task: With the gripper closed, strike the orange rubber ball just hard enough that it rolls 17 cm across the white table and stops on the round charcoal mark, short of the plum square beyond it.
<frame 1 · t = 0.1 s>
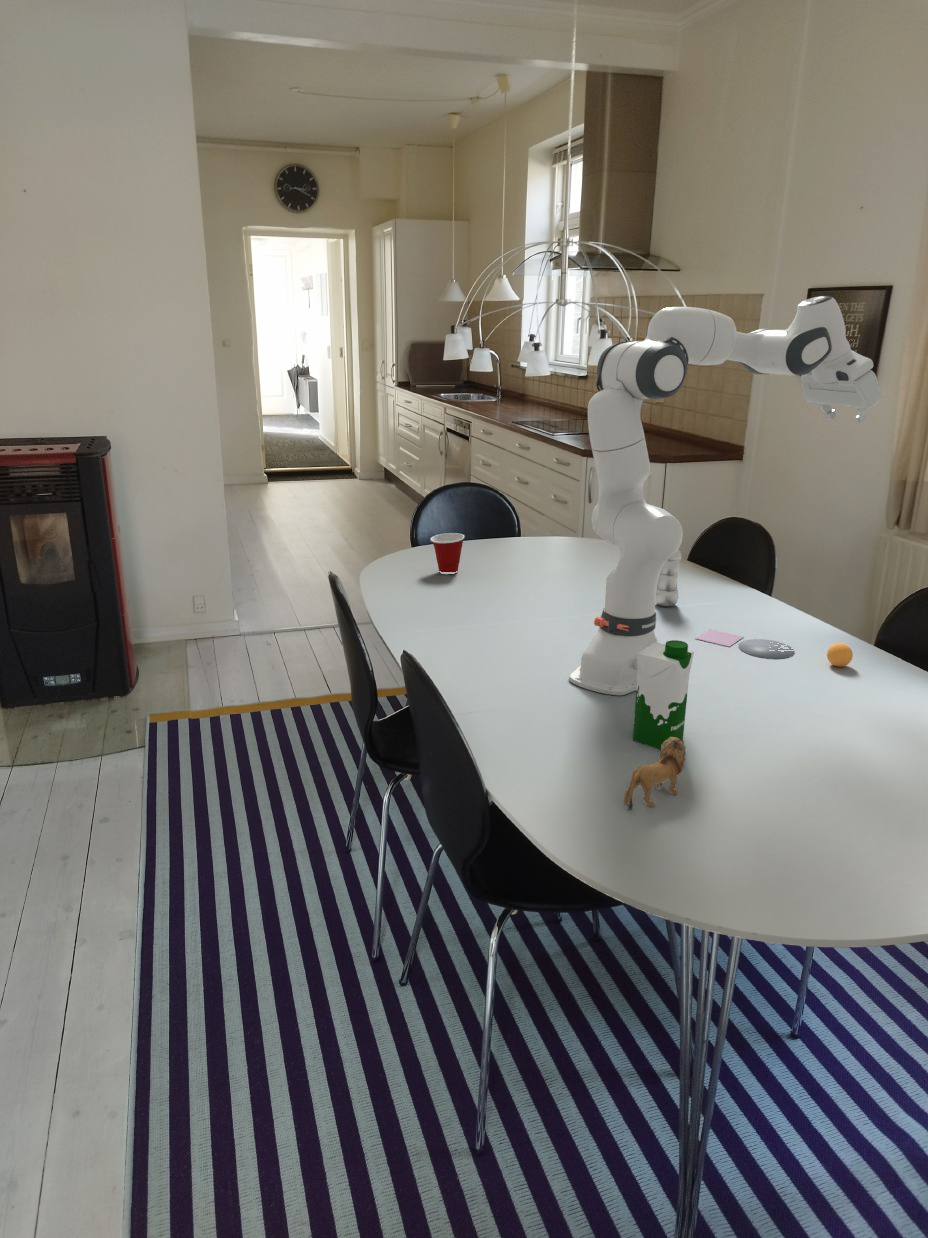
hand: (847, 419, 198), 54 cm above the table, tool tilted 30°, fingers open, 8 cm apart
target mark: (766, 649, 209), on the table
plastic cup: (447, 573, 273), on the table
milk carton: (657, 740, 163), on the table
ball: (839, 654, 198), on the table
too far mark: (719, 638, 216), on the table
plastic bottle: (665, 605, 242), on the table
lion figurine: (653, 796, 144), on the table
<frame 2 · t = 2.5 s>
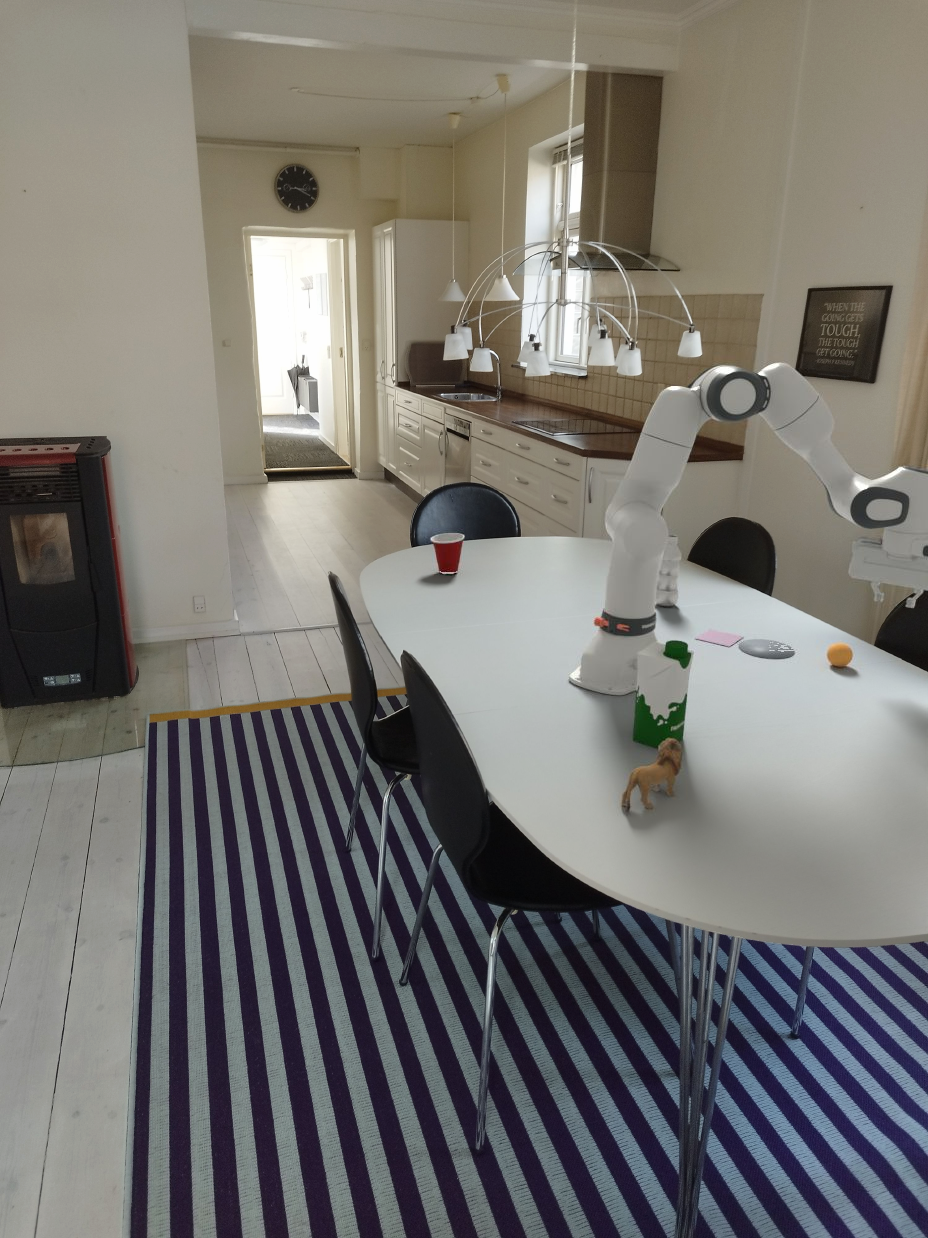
hand: (894, 603, 188), 17 cm above the table, tool pointing down, fingers open, 5 cm apart
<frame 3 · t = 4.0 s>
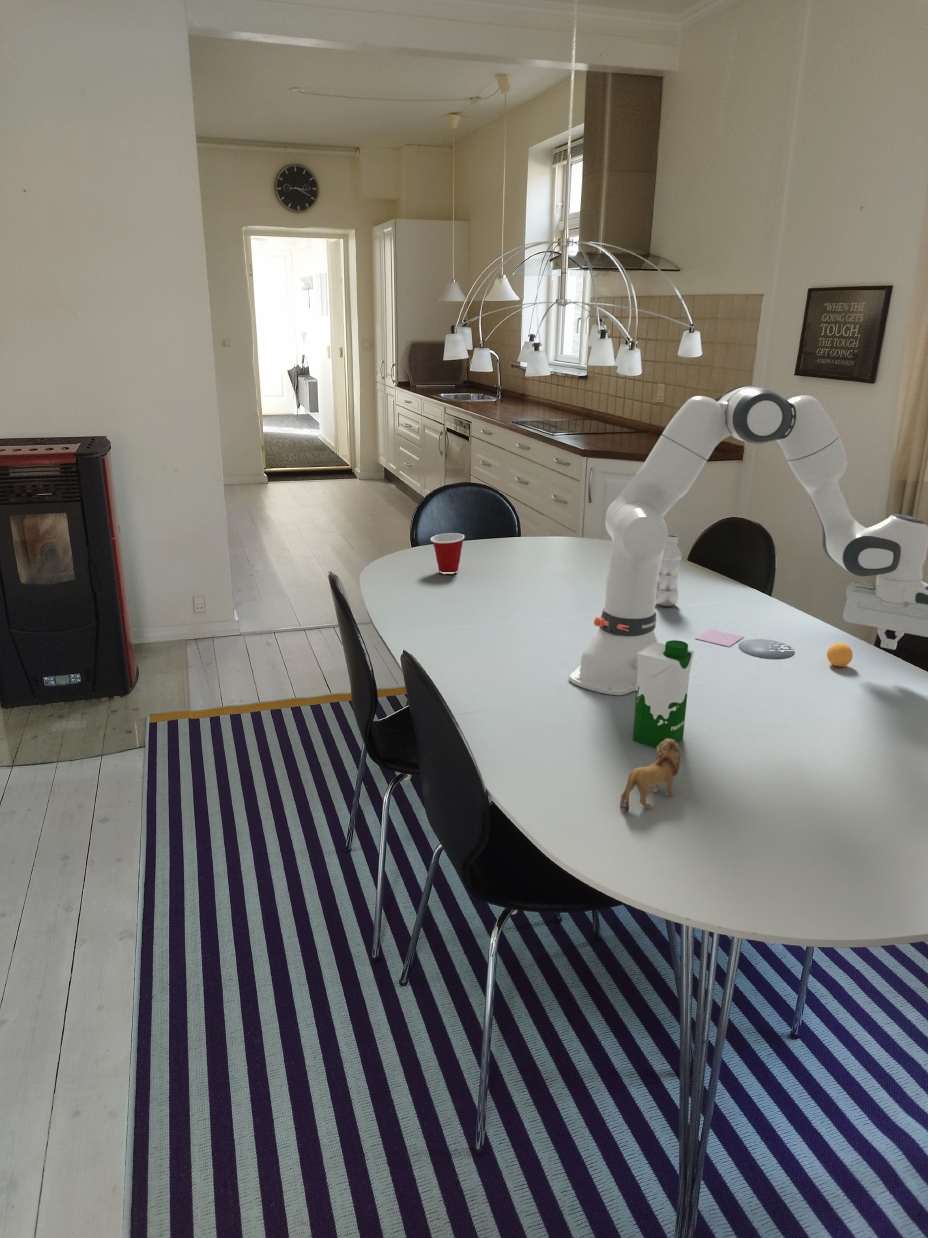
hand: (888, 647, 191), 7 cm above the table, tool pointing down, fingers closed
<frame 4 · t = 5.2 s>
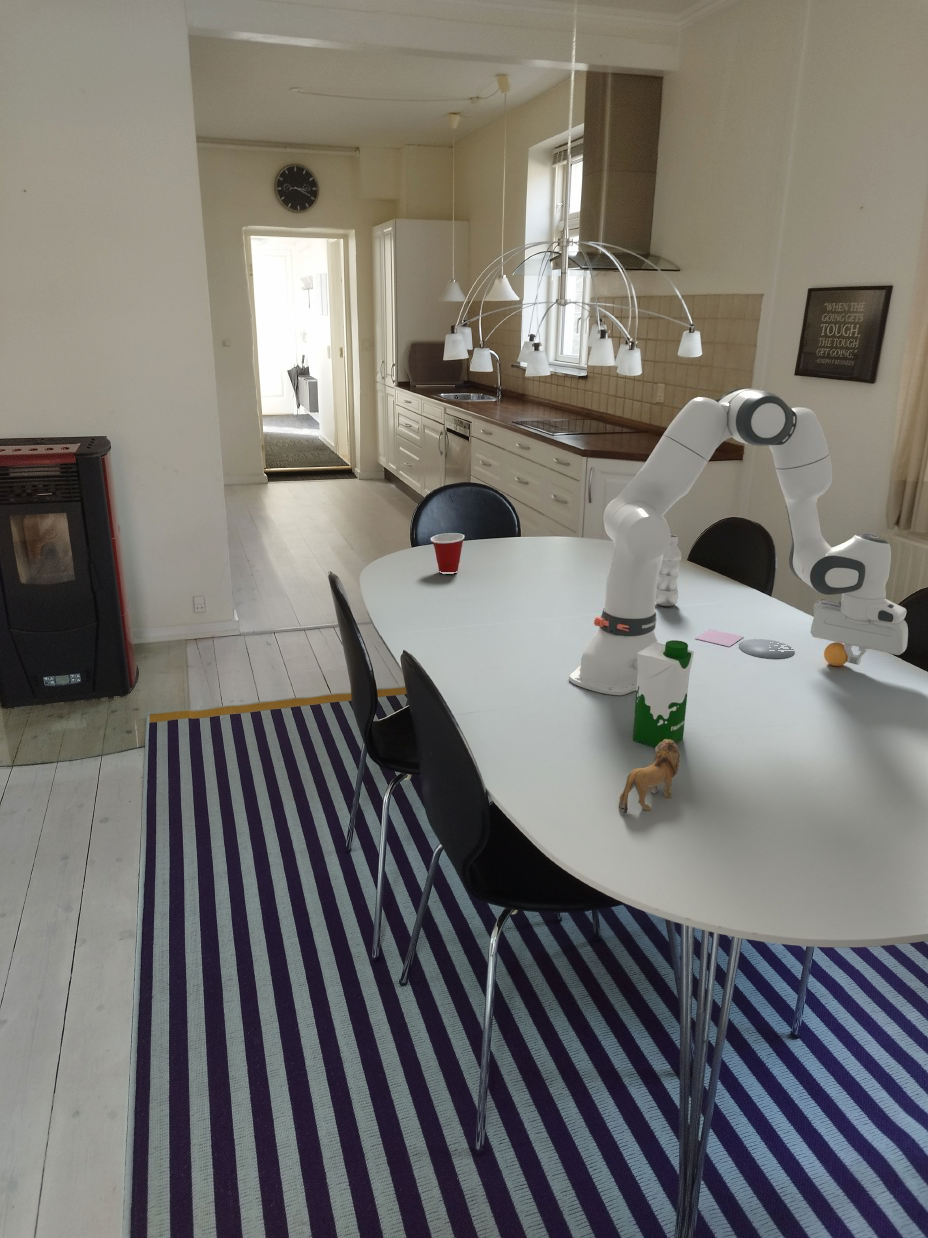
hand: (853, 663, 196), 2 cm above the table, tool pointing down, fingers closed
ball: (836, 654, 199), on the table, touching gripper
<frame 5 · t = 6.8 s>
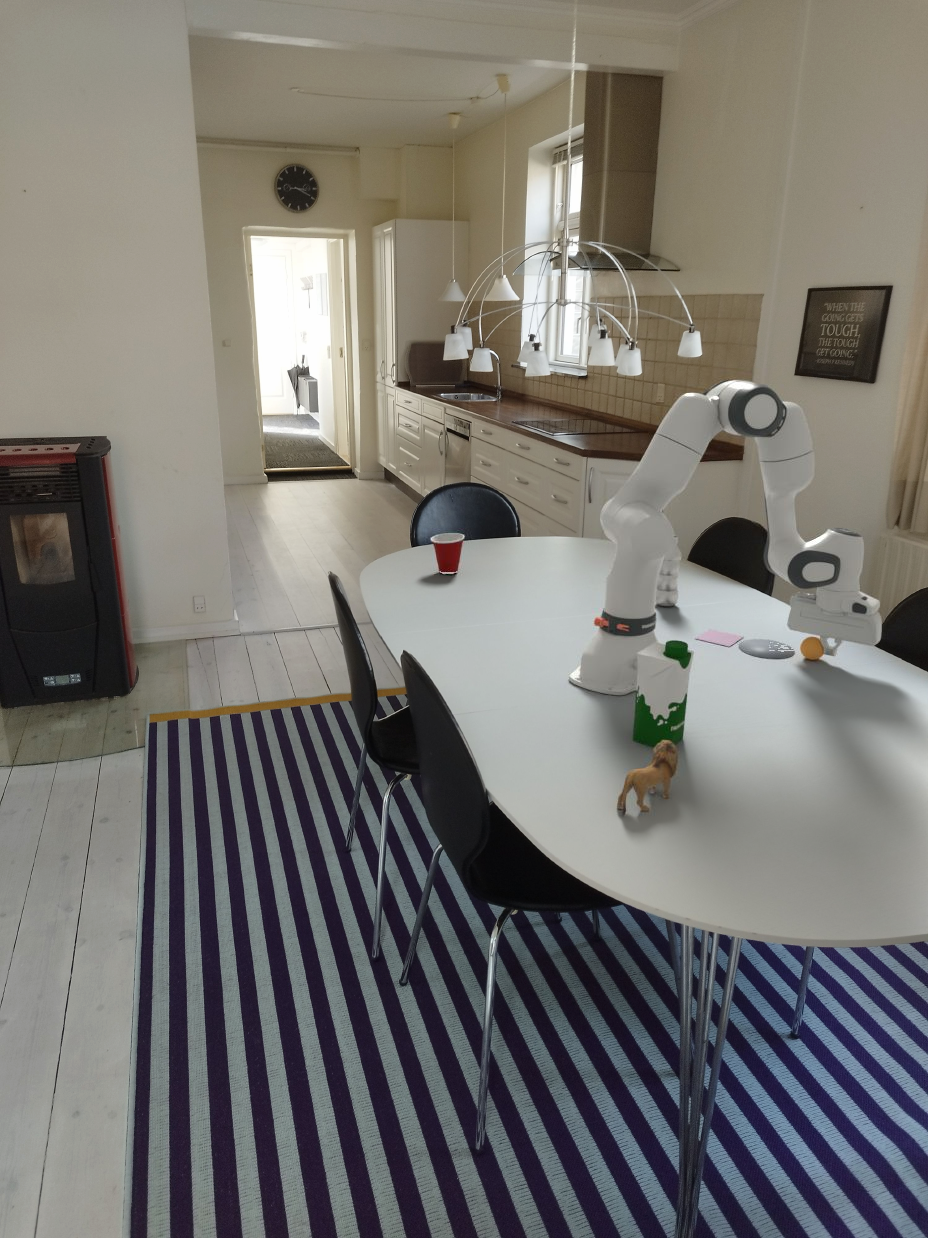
hand: (829, 654, 200), 2 cm above the table, tool pointing down, fingers closed
ball: (812, 648, 202), on the table, touching gripper
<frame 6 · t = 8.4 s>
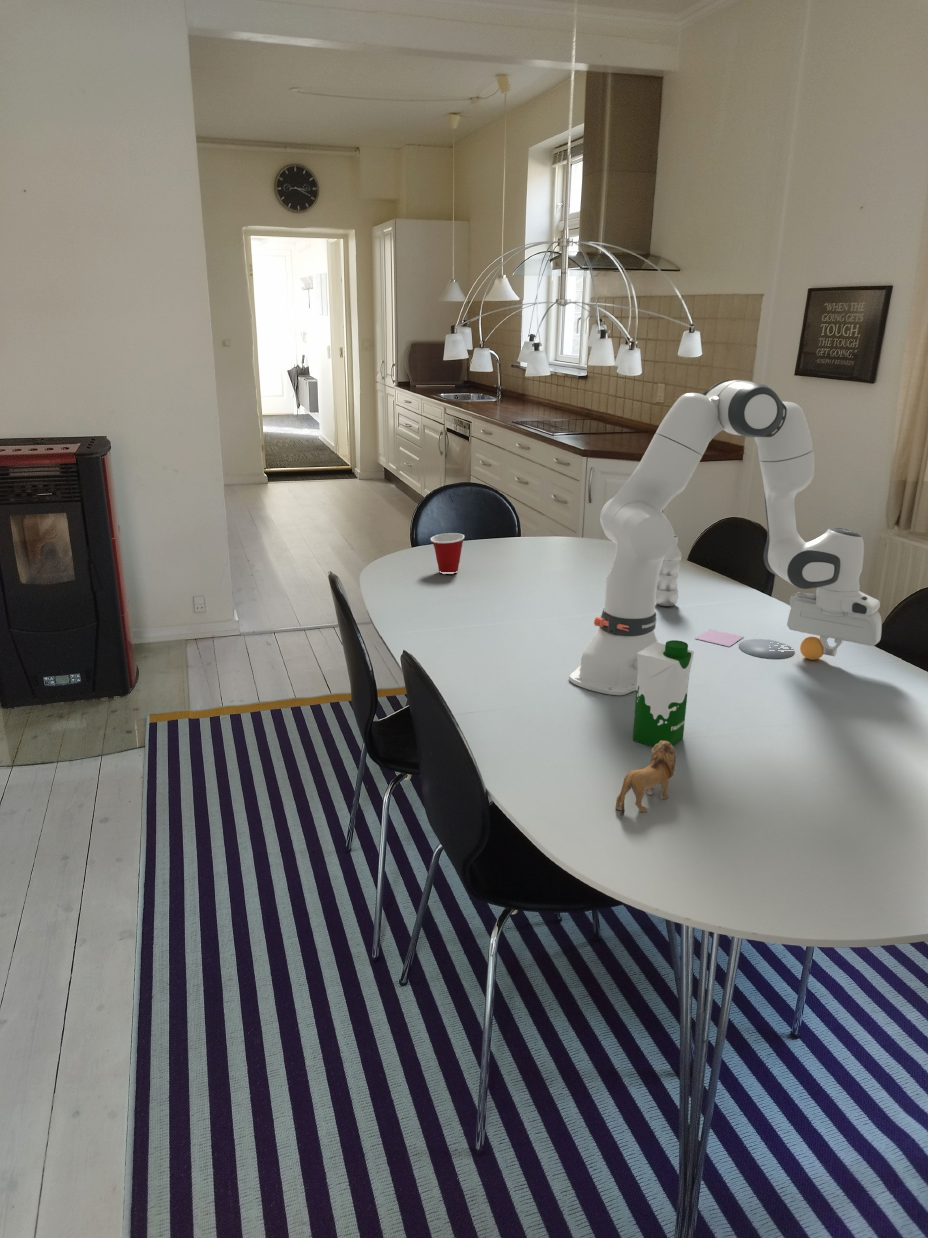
hand: (829, 654, 200), 2 cm above the table, tool pointing down, fingers closed
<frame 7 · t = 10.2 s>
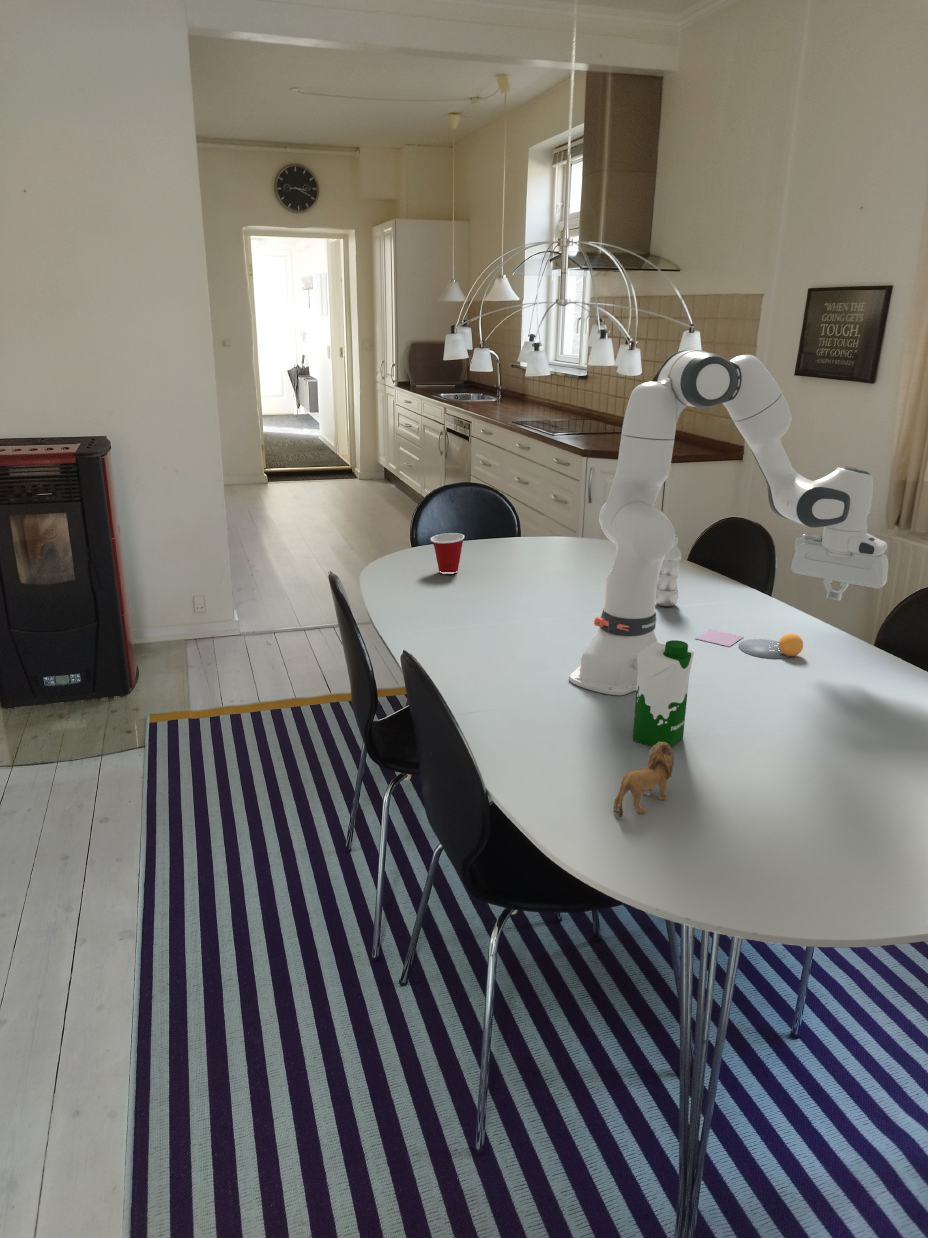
hand: (833, 598, 196), 16 cm above the table, tool pointing down, fingers closed
ball: (790, 644, 204), on the table
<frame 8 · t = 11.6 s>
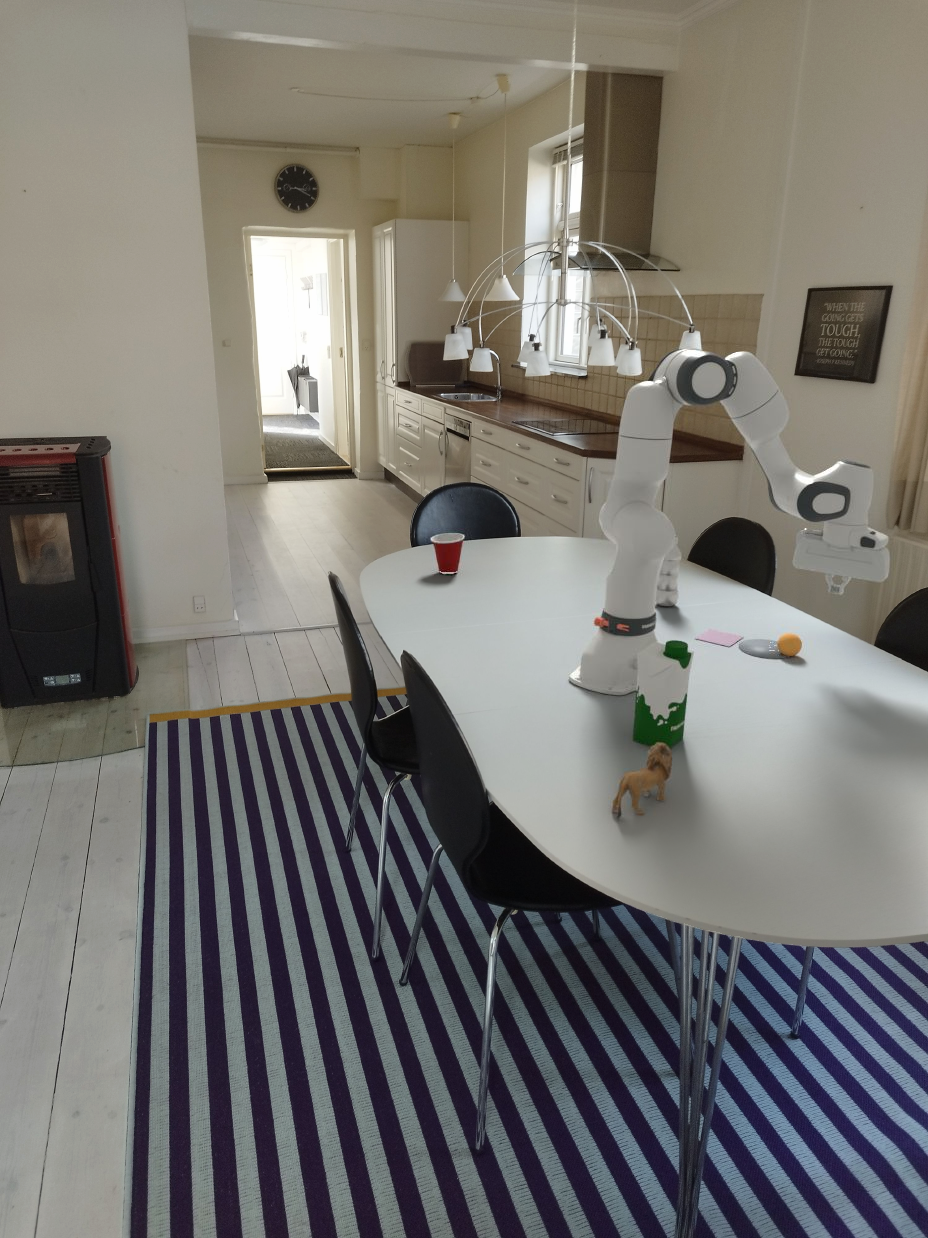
hand: (835, 593, 195), 17 cm above the table, tool pointing down, fingers closed
at the end: ball 5.7 cm from the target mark (horizontally); ball at rest at the end (0.0 cm/s); ball moved 11.4 cm from its start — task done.
